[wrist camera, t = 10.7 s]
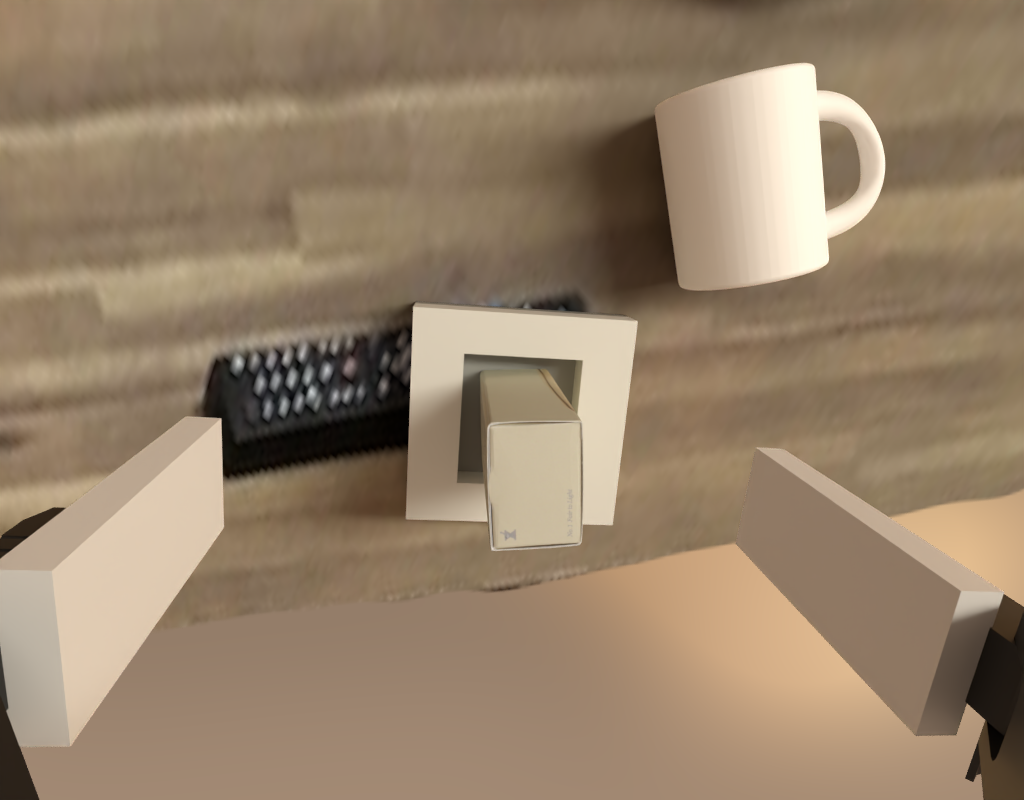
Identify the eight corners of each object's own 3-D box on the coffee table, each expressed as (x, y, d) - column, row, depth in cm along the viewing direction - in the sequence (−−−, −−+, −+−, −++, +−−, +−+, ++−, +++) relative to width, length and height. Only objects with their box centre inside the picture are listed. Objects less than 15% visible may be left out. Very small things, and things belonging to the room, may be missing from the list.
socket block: (408, 499, 41) (405, 519, 39) (416, 301, 38) (413, 306, 35) (601, 505, 43) (612, 525, 40) (624, 314, 40) (637, 321, 37)
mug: (660, 285, 39) (711, 297, 32) (636, 116, 37) (684, 85, 29) (843, 243, 40) (937, 245, 32) (832, 73, 37) (931, 32, 29)
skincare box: (547, 459, 41) (585, 551, 29) (478, 462, 40) (489, 556, 28) (547, 364, 39) (588, 420, 27) (475, 366, 39) (485, 423, 27)
